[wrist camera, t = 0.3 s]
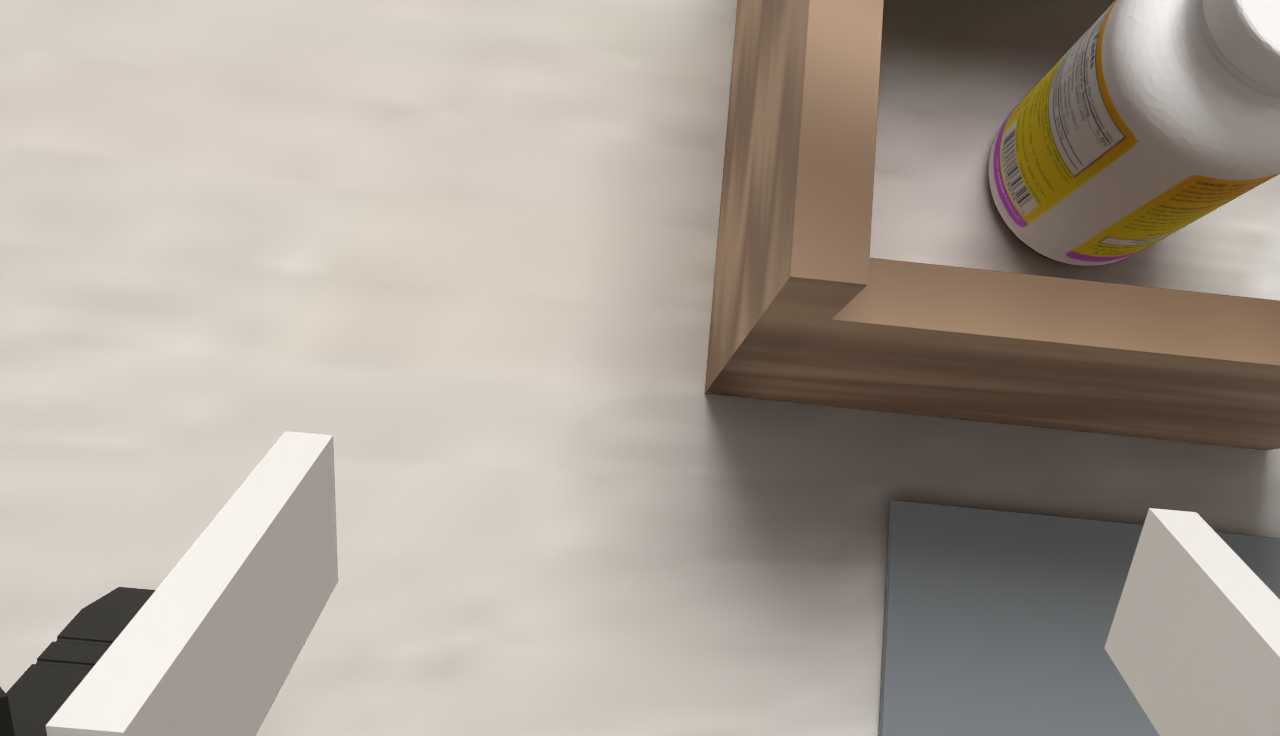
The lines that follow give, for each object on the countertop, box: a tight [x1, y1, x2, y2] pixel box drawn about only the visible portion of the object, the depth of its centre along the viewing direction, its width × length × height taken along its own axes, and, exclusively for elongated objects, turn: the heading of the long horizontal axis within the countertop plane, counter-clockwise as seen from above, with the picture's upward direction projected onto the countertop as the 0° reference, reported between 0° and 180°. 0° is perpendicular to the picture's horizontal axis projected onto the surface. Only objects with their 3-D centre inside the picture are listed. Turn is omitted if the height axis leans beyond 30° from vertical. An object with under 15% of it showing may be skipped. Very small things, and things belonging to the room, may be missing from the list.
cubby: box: [705, 0, 1280, 450], centre depth 28 cm, size 18×20×15 cm
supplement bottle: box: [989, 0, 1280, 266], centre depth 30 cm, size 7×7×13 cm
